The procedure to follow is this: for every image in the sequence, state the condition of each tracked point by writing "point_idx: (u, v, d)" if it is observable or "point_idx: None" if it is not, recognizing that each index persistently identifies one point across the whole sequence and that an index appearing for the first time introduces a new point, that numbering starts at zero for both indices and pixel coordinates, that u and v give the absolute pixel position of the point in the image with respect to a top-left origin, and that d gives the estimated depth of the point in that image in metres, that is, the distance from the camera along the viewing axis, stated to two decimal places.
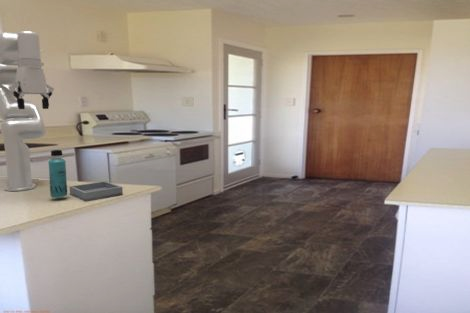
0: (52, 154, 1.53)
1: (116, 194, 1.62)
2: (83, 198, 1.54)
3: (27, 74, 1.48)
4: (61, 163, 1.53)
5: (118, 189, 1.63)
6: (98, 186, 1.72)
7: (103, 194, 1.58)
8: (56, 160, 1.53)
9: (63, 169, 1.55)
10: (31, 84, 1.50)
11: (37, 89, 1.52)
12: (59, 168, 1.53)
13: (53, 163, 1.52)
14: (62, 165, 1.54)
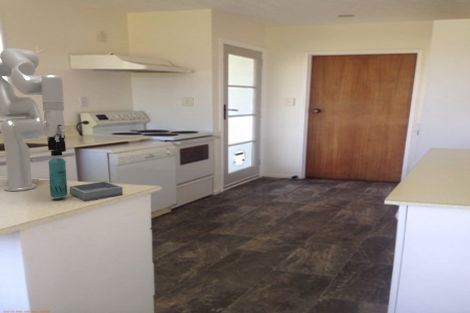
0: (52, 154, 1.53)
1: (116, 194, 1.62)
2: (83, 198, 1.54)
3: None
4: (61, 163, 1.53)
5: (118, 189, 1.63)
6: (98, 186, 1.72)
7: (103, 194, 1.58)
8: (56, 160, 1.53)
9: (63, 169, 1.55)
10: None
11: None
12: (59, 168, 1.53)
13: (53, 163, 1.52)
14: (62, 165, 1.54)
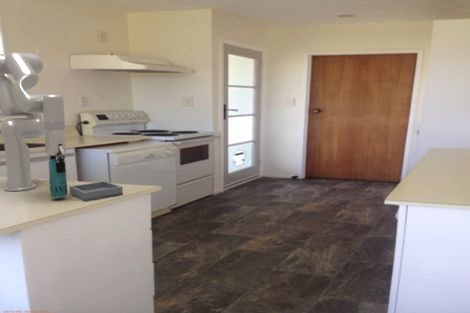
0: None
1: (116, 194, 1.62)
2: (83, 198, 1.54)
3: None
4: None
5: (118, 189, 1.63)
6: (98, 186, 1.72)
7: (103, 194, 1.58)
8: None
9: None
10: None
11: None
12: None
13: (53, 163, 1.52)
14: None
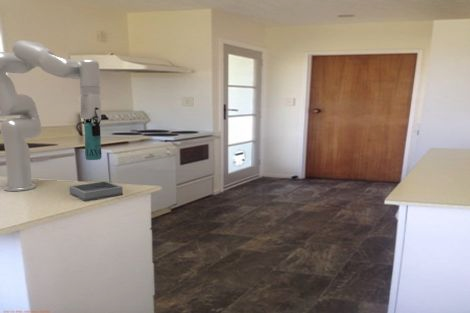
0: None
1: (116, 194, 1.62)
2: (83, 198, 1.54)
3: None
4: None
5: (118, 189, 1.63)
6: (98, 186, 1.72)
7: (103, 194, 1.58)
8: (92, 124, 1.58)
9: None
10: None
11: None
12: None
13: (89, 126, 1.57)
14: None
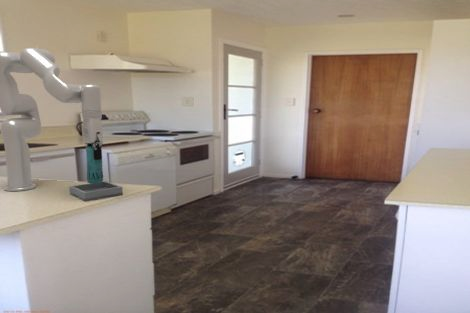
0: None
1: (116, 194, 1.62)
2: (83, 198, 1.54)
3: None
4: None
5: (118, 189, 1.63)
6: (98, 186, 1.72)
7: (103, 194, 1.58)
8: (93, 148, 1.60)
9: None
10: None
11: None
12: None
13: (91, 150, 1.59)
14: None
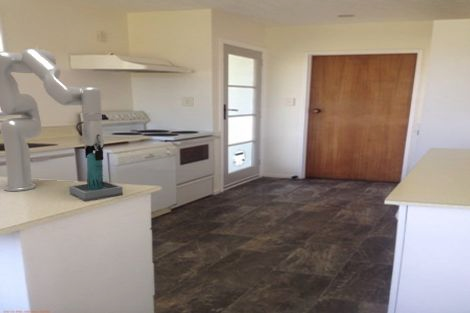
0: (91, 149, 1.60)
1: (116, 194, 1.62)
2: (83, 198, 1.54)
3: None
4: None
5: (118, 189, 1.63)
6: None
7: (103, 194, 1.58)
8: (94, 155, 1.60)
9: (100, 163, 1.62)
10: None
11: None
12: (97, 162, 1.60)
13: (91, 157, 1.59)
14: None
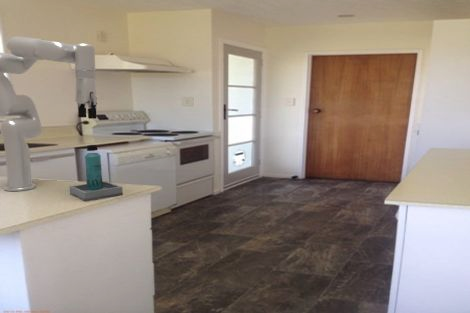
0: (88, 149, 1.60)
1: (116, 194, 1.62)
2: (83, 198, 1.54)
3: None
4: (97, 157, 1.60)
5: (118, 189, 1.63)
6: None
7: (103, 194, 1.58)
8: (92, 155, 1.60)
9: (99, 163, 1.62)
10: None
11: None
12: (95, 162, 1.60)
13: (90, 158, 1.59)
14: (98, 159, 1.61)
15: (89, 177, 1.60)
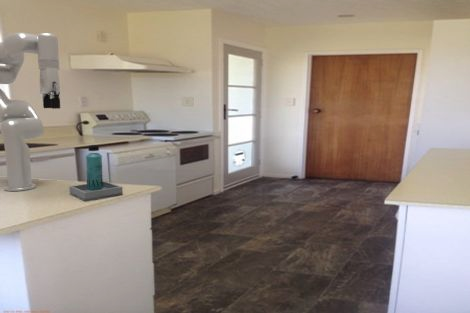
0: (90, 149, 1.60)
1: (116, 194, 1.62)
2: (83, 198, 1.54)
3: None
4: (98, 158, 1.60)
5: (118, 189, 1.63)
6: None
7: (103, 194, 1.58)
8: (94, 155, 1.60)
9: (100, 163, 1.62)
10: None
11: None
12: (96, 162, 1.60)
13: (91, 158, 1.59)
14: (99, 160, 1.61)
15: (90, 177, 1.60)
